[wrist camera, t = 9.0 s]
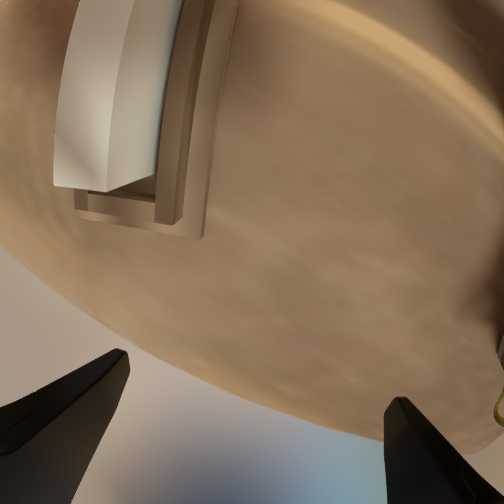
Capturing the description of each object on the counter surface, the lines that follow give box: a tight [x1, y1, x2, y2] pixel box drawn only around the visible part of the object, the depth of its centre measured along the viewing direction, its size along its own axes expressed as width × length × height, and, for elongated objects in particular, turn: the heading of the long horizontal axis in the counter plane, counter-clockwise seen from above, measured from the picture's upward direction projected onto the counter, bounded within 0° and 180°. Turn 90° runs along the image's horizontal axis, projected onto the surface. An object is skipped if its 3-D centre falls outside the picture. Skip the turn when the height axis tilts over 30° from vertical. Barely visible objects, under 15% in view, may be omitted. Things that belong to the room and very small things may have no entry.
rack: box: [74, 0, 239, 240], centre depth 15 cm, size 10×20×3 cm, turn 171°
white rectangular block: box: [54, 0, 185, 192], centre depth 13 cm, size 4×12×6 cm, turn 171°
